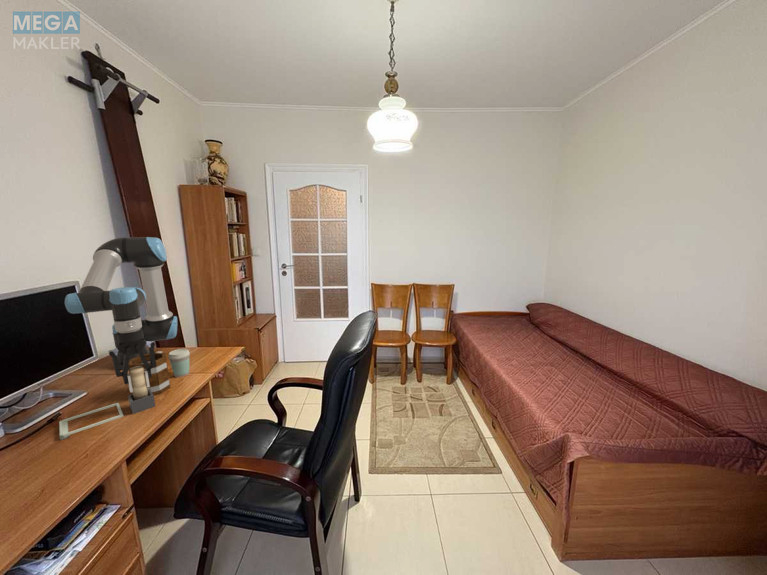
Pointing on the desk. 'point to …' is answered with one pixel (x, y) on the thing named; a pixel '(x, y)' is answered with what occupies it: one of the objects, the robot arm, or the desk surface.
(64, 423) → the tray
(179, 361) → the coffee cup
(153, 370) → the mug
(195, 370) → the desk surface
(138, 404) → the pen cup
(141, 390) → the dowel
